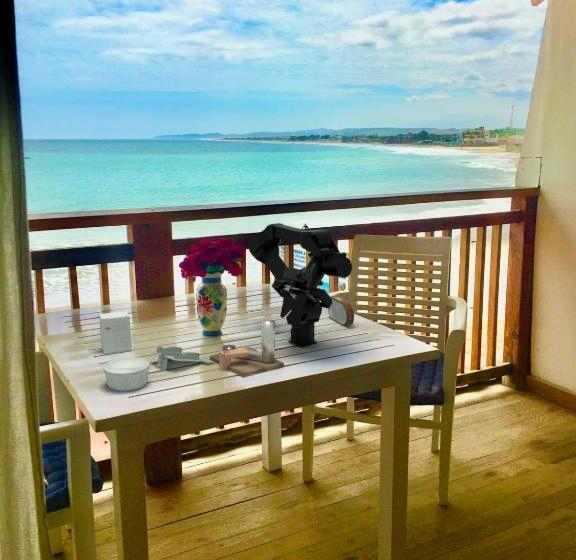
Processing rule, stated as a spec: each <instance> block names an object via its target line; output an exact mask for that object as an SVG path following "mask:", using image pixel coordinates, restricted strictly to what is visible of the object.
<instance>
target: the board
mask: <svg viewBox="0 0 576 560" xmlns="http://www.w3.org/2000/svg"><path fill="white" fill-rule="evenodd" d="M243 348H244V347H243ZM243 348H241V349H243ZM245 348H246V350H250V351H257V352H260V351H258V350H256V349H255V348H252V347H251V346H246V347H245ZM209 360H210V361H213V362H215V364H218V365H219V366H220V364H219V353H216V354H212V355H209ZM284 367H285V363H284V362H283V361H280V360H278V359H276V358H275V361H274V362H271V363H265V362H262V361H257V360H251V359H245V358H238V357H235V358H231V365H228V369H227V370H229V371H231V372H233V373H234V374H236V375H238V376H240V377H242V378H245V377H250V376H253V375H258V374H261V373H265V372H269V371H272V370H276V369H279V368H280V369H281V368H284Z"/></svg>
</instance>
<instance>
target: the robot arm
mask: <svg viewBox="0 0 576 560" xmlns="http://www.w3.org/2000/svg"><path fill="white" fill-rule="evenodd" d="M330 233H331V232H330V231H329V230H327V229H313V230H312V229H310V230H308V229H307V230H306V229H303V228H300V227H299V228H298V227H296V226H295V227H294V226H291V225H286V224H283V223H281V222H276V223H269V224H267V226H266V227H265V228H264V229H263V230H261V231H260V232H258V233H257V234H256V235H255V236H254V237H253V238H251V240H250V242H249V244H248V250H249V254H250V255H252V257H253V258H254V259H255V260H256V261H258V262H260V263H261V264H263V265H265V267H267V268H268V270H269V271H270V273H271V274H272V276H273V277H274V278H275V280H274V281H273V283H272V285H271V287H272V289H274V291H275V292H276V293H277V294H278V295H279V296H280V297H281V298H282V305H281V310H280V315H279V316H280V318H281V319H284V318H286V319H285V320H286V324H288V325H290V326H291V328H290V339H288V343H290V344H293V345H295V346H297V347H299V348H303V347H308V346H312V345H316V344H319V342H318V341H317V340H315V323H319V322H320V319H321V314H322V311H323V308H324V309H327V310H328V309H329V308H330V306H331V305H332V298H331V296H330V294H329V293H328V292H327V290H326V289H324V288H319V286H320V287H322V286H323V285H324V282H323V279H324V277H325V276H328V277H332V278H333V277H335V278H342V279H345V278H348V277H349V276H351V274H352V272H353V271H352V270H353V263H352V261H351V259H350V258H349V257H347V252H340V250H339V248H338V246H337V244H336V242H335V241H334V239H333V237H332V236H331V234H330ZM282 240H283V241H286V242H291V243H294V244H297V245H299V246H300V248H302V249H303V250H305V251H306V252H309V253H308V254H307V257H309V258H310V259H309V262H307V264H306V266H305V267H302V268H296V267H290V266H287V264H286V263H285V262H284V260H283V259H282V257H281V256H280V244H282Z"/></svg>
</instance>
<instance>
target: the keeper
mask: <svg viewBox="0 0 576 560" xmlns="http://www.w3.org/2000/svg"><path fill="white" fill-rule="evenodd" d="M218 354H219V364H220V365H219V364H218V365H219V368H220V369H221V370H222V371H223V370H229V369H228V365H231V358H235V357H244V356H249V352H248V351H247V350H246V347H243V349H242V348H237V349H233V350H224V351H223V350H219V351H218Z"/></svg>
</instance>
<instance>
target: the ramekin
mask: <svg viewBox="0 0 576 560" xmlns="http://www.w3.org/2000/svg"><path fill="white" fill-rule="evenodd" d="M150 367H151V366H150V361H149V360H147V359H146V358H141V357H132V356H131V357H129V356H127V357H119V358H116V359H113V360H110V361H108V362H106V363H105V364H104V365H103V367H102V370H103V373H104V375H105V380H106V384H107V386H108V387H109V388H110V389H111V390H114V391H116V390H118V391H117V392H130V391H131V390H132V391H135V390H139V389H142V388H143V387H144V386H146V384H147V383H148V381H149V371H150Z"/></svg>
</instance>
